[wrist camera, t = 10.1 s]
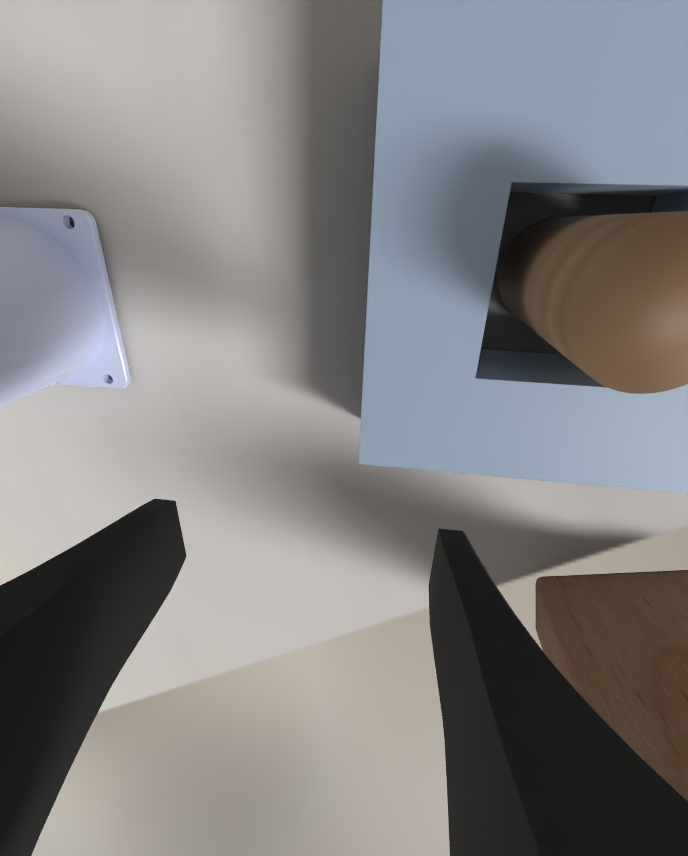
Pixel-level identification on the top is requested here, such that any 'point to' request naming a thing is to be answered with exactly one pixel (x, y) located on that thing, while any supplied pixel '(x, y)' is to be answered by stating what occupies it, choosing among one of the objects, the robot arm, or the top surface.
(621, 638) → the wooden block
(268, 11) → the top surface
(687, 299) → the peg
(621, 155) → the socket
